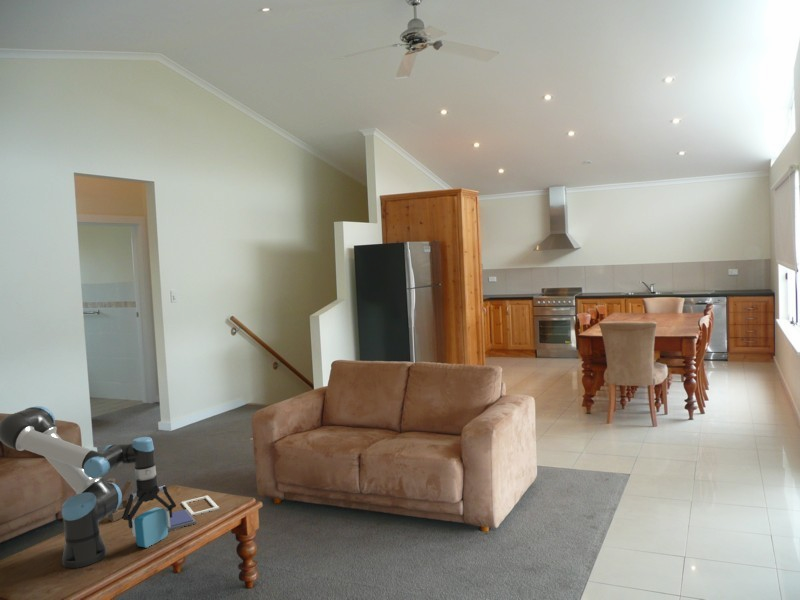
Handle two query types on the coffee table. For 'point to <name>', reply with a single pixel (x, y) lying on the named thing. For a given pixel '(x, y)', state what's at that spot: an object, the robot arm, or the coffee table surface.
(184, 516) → the ink pad
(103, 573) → the coffee table surface
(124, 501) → the brown wooden mallet
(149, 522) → the data package
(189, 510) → the frame
